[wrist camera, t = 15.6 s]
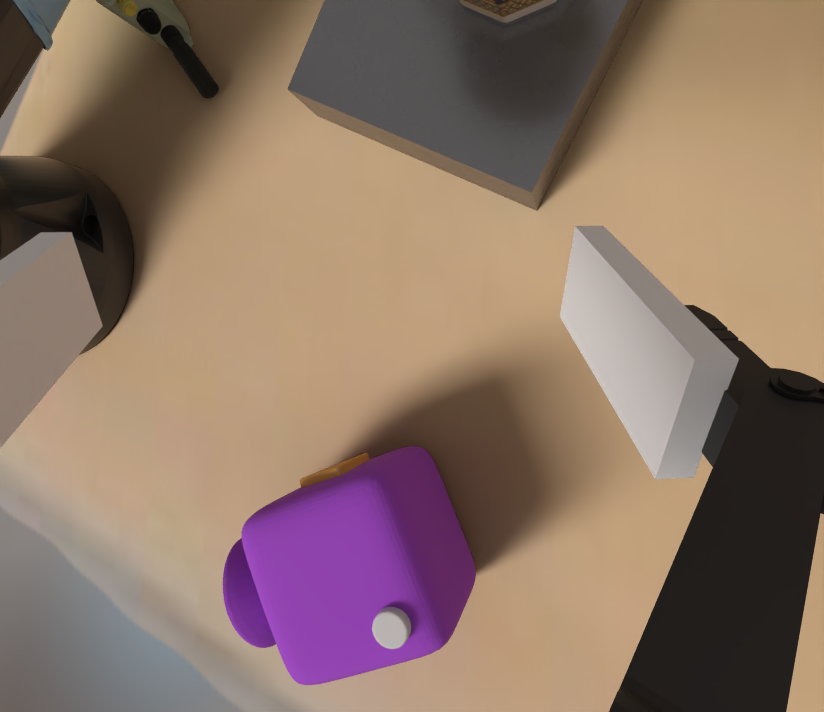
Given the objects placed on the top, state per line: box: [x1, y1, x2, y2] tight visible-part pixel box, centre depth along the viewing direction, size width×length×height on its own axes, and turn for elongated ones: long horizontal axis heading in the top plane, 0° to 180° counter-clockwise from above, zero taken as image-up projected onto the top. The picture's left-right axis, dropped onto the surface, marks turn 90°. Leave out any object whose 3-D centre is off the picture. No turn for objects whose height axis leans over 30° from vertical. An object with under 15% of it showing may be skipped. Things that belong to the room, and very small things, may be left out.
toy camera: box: [223, 446, 476, 685], centre depth 32 cm, size 11×14×10 cm
